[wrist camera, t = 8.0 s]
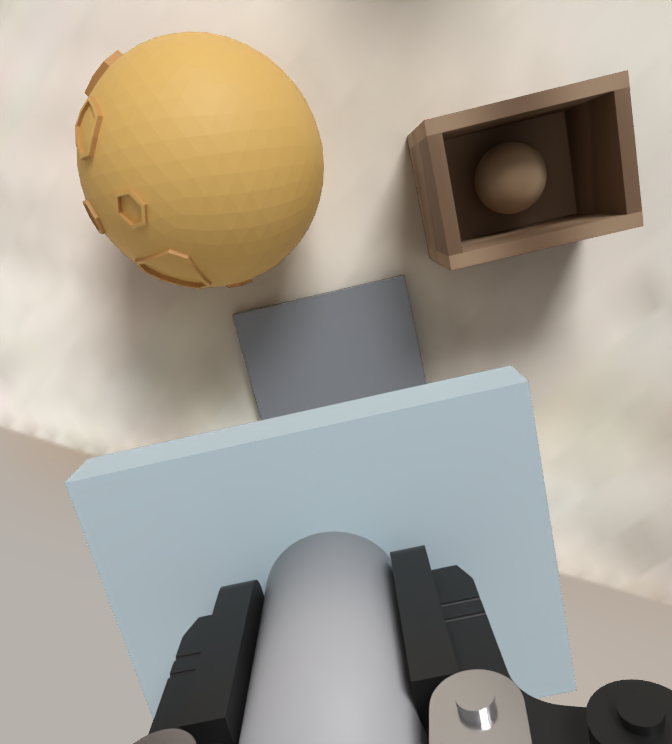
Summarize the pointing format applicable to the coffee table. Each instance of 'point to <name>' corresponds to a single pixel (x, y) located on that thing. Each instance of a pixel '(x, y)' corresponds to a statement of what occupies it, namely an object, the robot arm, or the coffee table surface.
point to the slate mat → (331, 347)
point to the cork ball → (510, 177)
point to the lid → (334, 548)
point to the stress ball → (198, 159)
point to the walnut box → (563, 164)
